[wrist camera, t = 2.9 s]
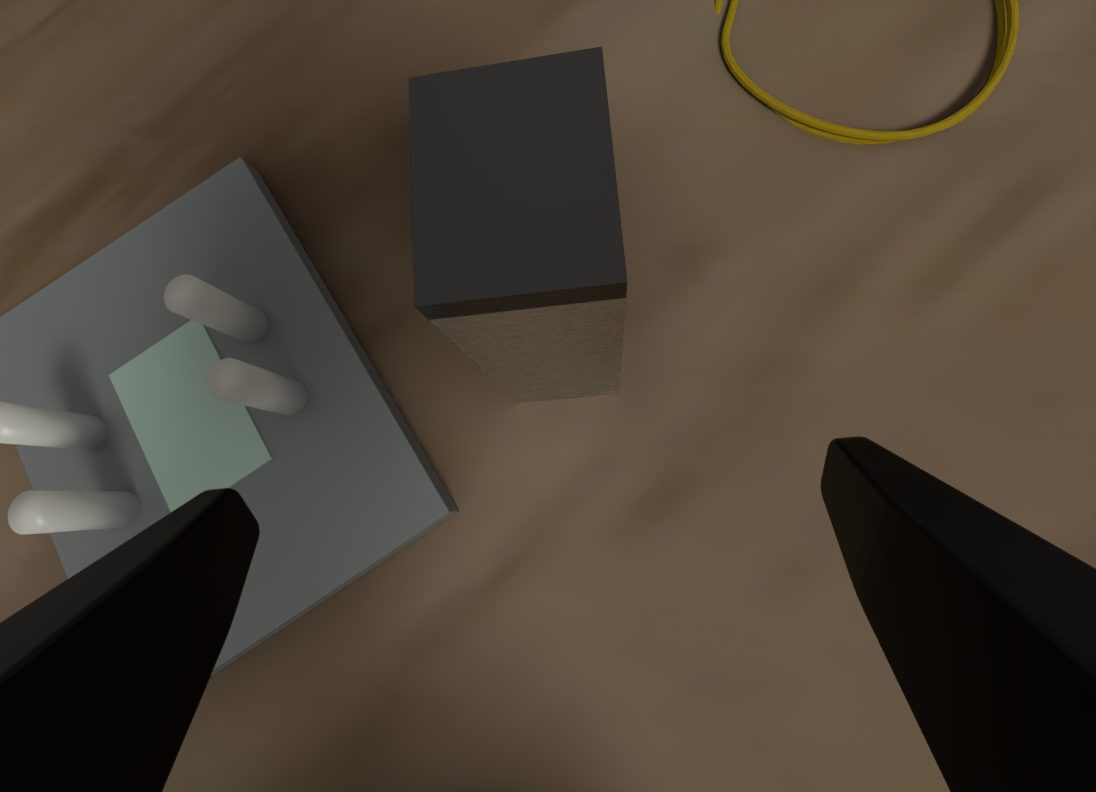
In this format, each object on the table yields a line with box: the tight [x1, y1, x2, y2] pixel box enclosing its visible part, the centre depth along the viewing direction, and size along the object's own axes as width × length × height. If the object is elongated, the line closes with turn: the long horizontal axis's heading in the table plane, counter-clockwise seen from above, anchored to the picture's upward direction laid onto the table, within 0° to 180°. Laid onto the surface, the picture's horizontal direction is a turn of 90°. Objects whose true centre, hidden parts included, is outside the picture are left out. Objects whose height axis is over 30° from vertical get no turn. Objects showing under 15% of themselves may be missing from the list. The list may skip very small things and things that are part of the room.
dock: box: [0, 156, 459, 677], centre depth 20 cm, size 18×14×5 cm
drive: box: [409, 47, 627, 403], centre depth 16 cm, size 5×4×11 cm
